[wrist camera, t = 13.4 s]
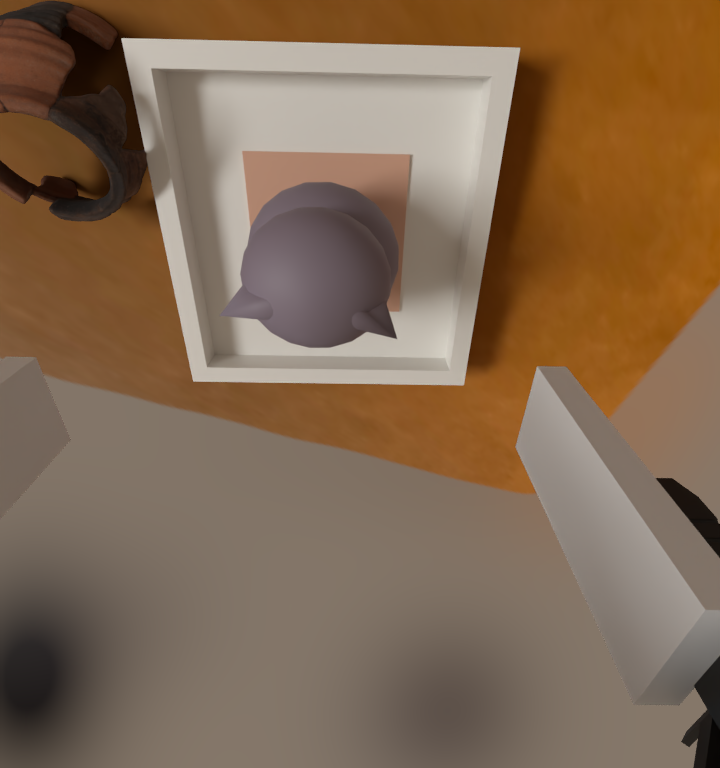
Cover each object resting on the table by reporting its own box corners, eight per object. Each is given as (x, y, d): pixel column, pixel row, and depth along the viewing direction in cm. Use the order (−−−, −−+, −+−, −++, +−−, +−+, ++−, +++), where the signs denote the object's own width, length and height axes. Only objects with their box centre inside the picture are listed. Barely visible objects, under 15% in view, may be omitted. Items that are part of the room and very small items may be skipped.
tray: (503, 54, 25) (520, 47, 22) (456, 365, 35) (463, 385, 33) (145, 46, 24) (121, 38, 22) (205, 361, 35) (193, 381, 32)
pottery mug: (177, 38, 25) (148, 128, 21) (157, 172, 32) (133, 256, 28) (-109, -108, 20) (-218, -24, 16) (-55, 91, 27) (-119, 182, 23)
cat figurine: (404, 182, 27) (432, 223, 17) (383, 302, 31) (395, 394, 21) (264, 161, 26) (204, 191, 16) (261, 287, 30) (213, 374, 20)
